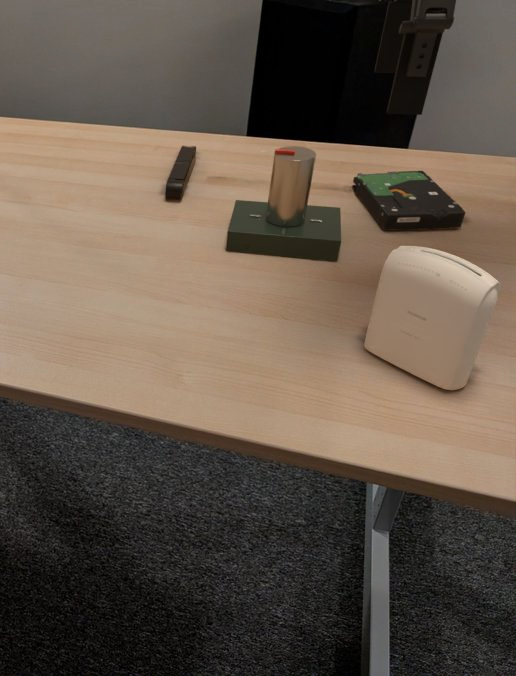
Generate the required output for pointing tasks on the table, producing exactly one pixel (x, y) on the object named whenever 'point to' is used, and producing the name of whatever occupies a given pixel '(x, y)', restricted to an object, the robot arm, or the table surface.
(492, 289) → the photo printer
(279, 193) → the dial
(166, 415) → the table surface
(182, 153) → the black bar
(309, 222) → the green base plate
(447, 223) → the disk drive
